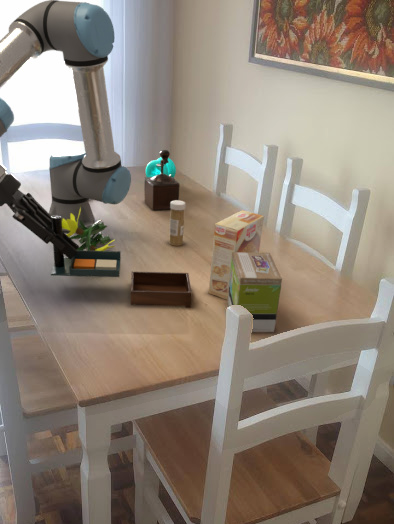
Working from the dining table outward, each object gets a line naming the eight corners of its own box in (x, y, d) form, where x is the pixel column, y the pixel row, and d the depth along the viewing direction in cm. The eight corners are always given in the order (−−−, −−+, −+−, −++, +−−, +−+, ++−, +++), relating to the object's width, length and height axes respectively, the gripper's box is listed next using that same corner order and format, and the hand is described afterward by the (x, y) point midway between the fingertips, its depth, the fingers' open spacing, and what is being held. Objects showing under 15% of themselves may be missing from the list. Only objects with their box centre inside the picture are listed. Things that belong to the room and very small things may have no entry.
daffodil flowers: (134, 243, 181) (120, 258, 148) (94, 266, 183) (72, 285, 150) (106, 195, 177) (86, 198, 143) (66, 218, 179) (37, 227, 145)
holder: (131, 285, 154) (131, 271, 152) (187, 286, 156) (188, 272, 154) (130, 306, 144) (130, 291, 142) (190, 307, 146) (191, 292, 143)
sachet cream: (96, 263, 146) (96, 259, 145) (116, 263, 146) (116, 259, 146) (95, 270, 142) (95, 266, 142) (116, 270, 143) (116, 267, 142)
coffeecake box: (230, 301, 150) (238, 230, 140) (207, 293, 153) (213, 223, 143) (256, 282, 161) (265, 215, 151) (234, 275, 164) (241, 209, 154)
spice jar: (185, 245, 181) (188, 203, 174) (173, 247, 179) (175, 205, 172) (178, 240, 184) (180, 199, 177) (165, 242, 182) (167, 200, 175)
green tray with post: (56, 258, 147) (52, 209, 140) (120, 260, 149) (120, 212, 142) (50, 275, 139) (46, 224, 132) (119, 277, 141) (118, 226, 134)
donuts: (176, 182, 239) (177, 158, 234) (165, 188, 231) (166, 163, 226) (155, 178, 242) (156, 154, 237) (144, 183, 235) (144, 159, 229)
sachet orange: (75, 262, 145) (75, 258, 145) (95, 262, 146) (95, 259, 145) (73, 269, 142) (73, 266, 141) (94, 270, 142) (94, 266, 142)
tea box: (225, 303, 149) (231, 250, 141) (263, 304, 150) (271, 251, 142) (233, 333, 136) (240, 276, 128) (275, 333, 137) (284, 277, 129)
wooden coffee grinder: (180, 208, 211) (183, 159, 201) (152, 210, 207) (153, 159, 197) (166, 196, 223) (168, 148, 213) (139, 197, 219) (140, 149, 209)
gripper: (-6, 184, 139) (67, 250, 149) (-21, 205, 126) (60, 276, 136) (14, 163, 136) (87, 231, 147) (1, 182, 123) (82, 255, 134)
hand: (74, 252), depth 142 cm, fingers closed on green tray with post, 2 cm apart
